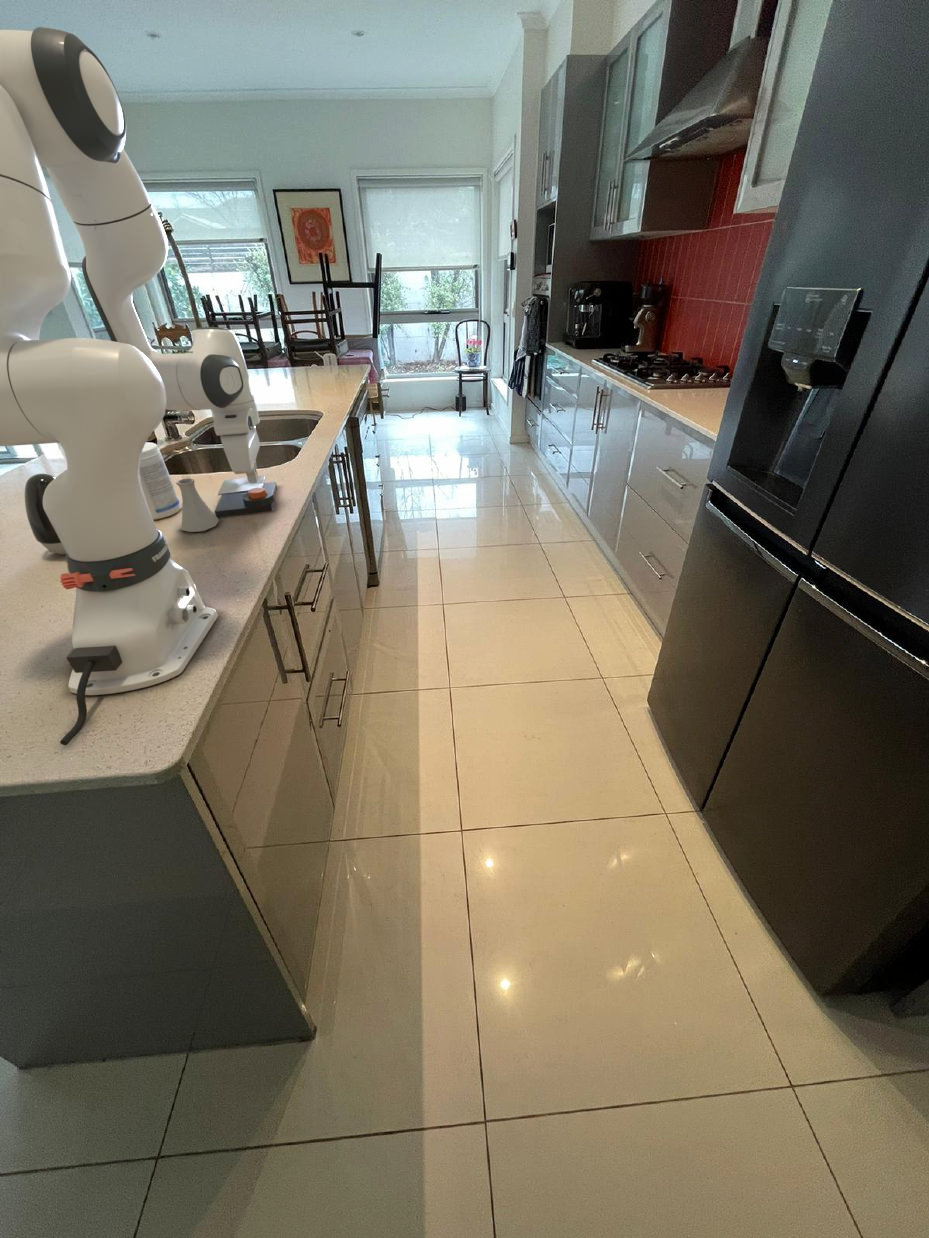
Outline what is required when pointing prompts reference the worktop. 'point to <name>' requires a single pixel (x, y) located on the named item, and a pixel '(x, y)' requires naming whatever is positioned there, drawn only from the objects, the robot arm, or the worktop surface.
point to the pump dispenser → (41, 513)
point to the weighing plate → (240, 485)
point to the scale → (246, 502)
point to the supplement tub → (157, 483)
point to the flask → (194, 509)
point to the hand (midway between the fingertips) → (254, 480)
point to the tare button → (257, 493)
